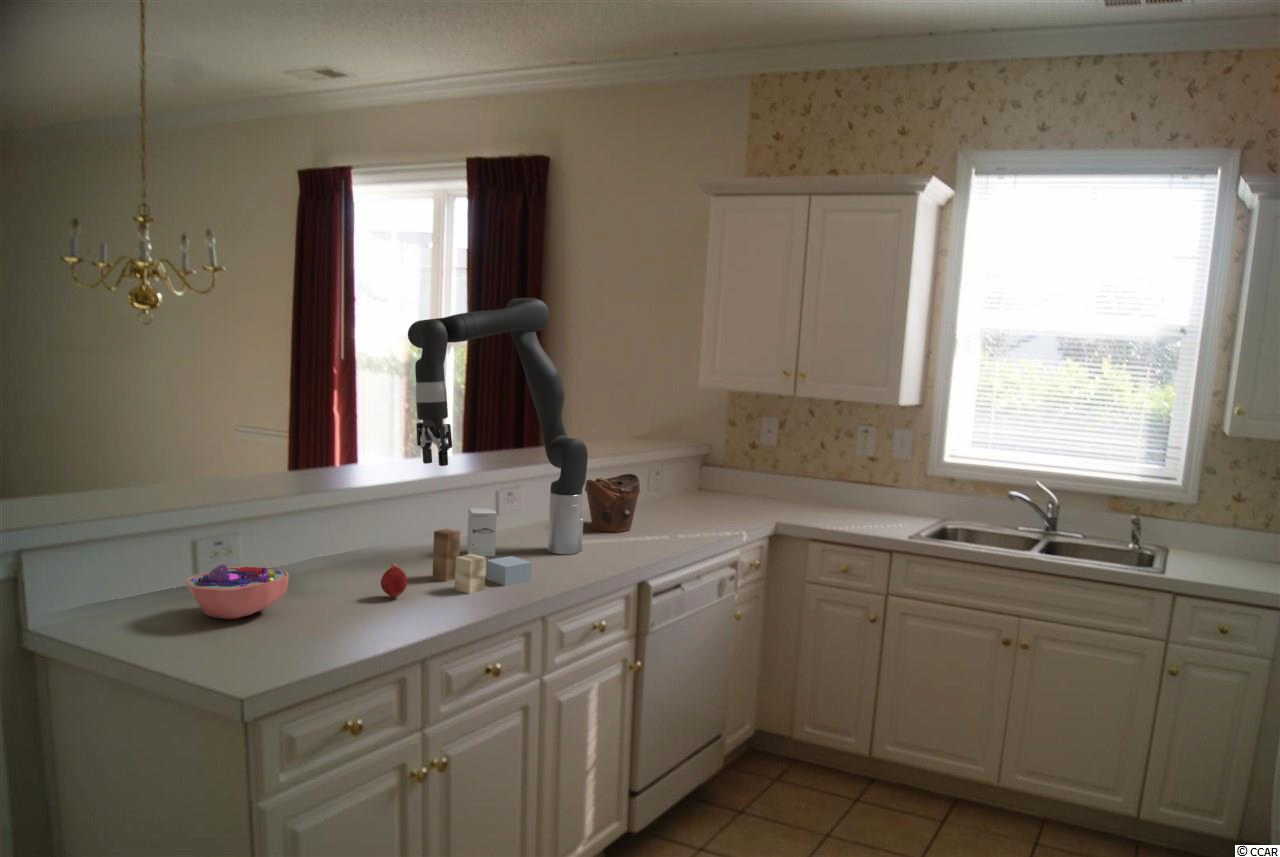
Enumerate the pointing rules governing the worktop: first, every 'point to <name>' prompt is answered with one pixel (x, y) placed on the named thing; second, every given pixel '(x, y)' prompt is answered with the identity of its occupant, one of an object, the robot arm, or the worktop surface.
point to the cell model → (237, 590)
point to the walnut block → (445, 553)
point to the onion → (394, 581)
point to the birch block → (470, 573)
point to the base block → (508, 570)
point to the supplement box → (481, 531)
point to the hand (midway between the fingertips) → (435, 464)
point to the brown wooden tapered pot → (613, 502)
